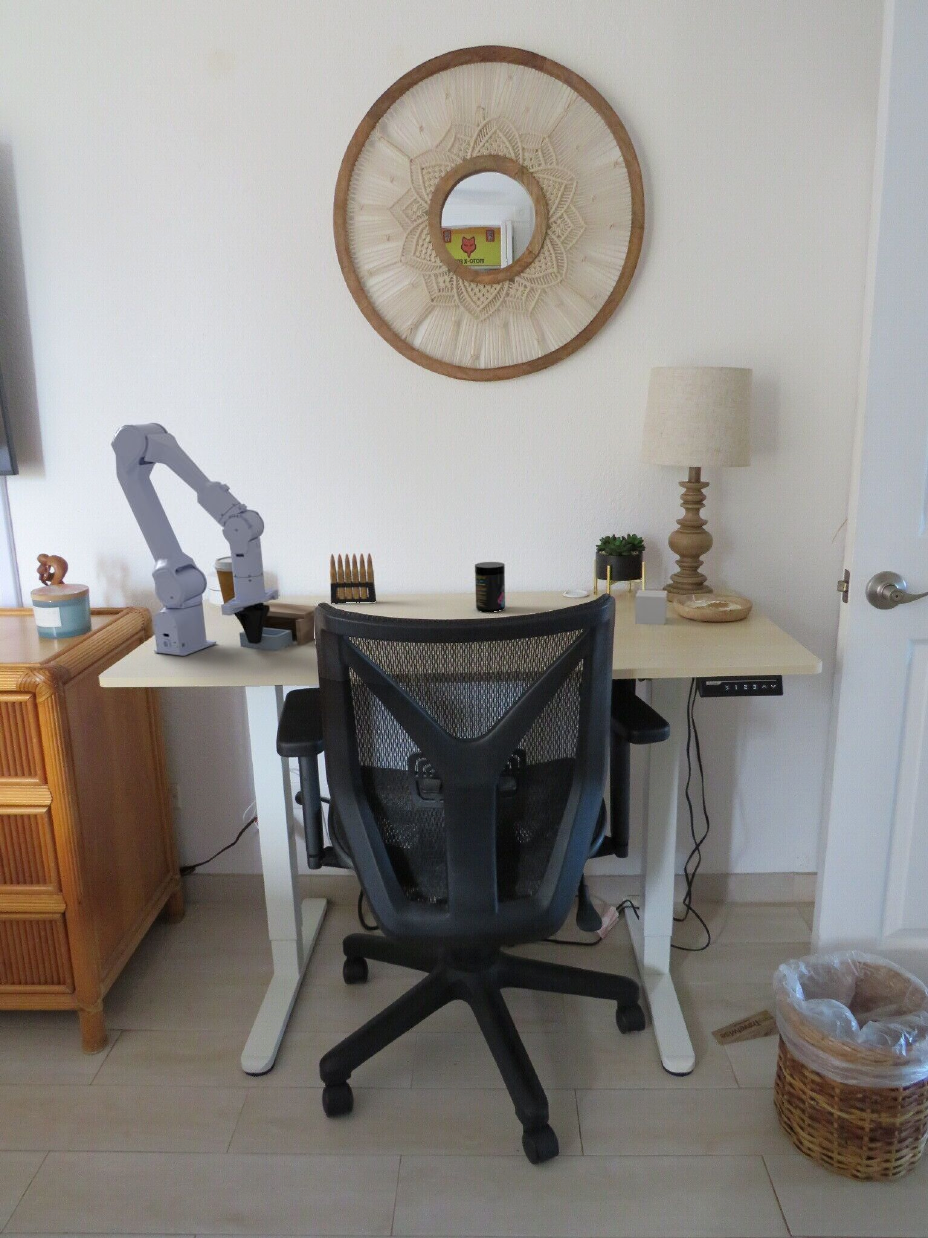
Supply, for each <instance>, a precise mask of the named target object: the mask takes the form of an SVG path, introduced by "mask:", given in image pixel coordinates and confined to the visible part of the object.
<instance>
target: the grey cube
mask: <svg viewBox="0 0 928 1238" xmlns="http://www.w3.org/2000/svg"><path fill="white" fill-rule="evenodd" d="M667 606H668V590H657V589H656V590H650V589H649V590H648V589H638V590H637V593H636V594H635V606H634V609H635V612H634V614H635V615H634V624H639V625H659V626H664V625H665V624H666V621H667V611H668V609H667Z"/></svg>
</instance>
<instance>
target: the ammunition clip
mask: <svg viewBox="0 0 928 1238" xmlns="http://www.w3.org/2000/svg"><path fill="white" fill-rule="evenodd" d="M352 554H353V555H352V559H351V561H350V557H349V554H348V553H346V554H345V558H344V565H343V558H342V555H341V554H340V553H338V556H337V566H336V560H335V556H334V554H333V553H331V555H330V559H329V562H330V566H329V567H330V568H329V575H330V576H329V579H330V604H331V605H333V604H332V603H335V604H334V605H339V604H338V603H346V602H356V603H357V602H359V603H360V602H375V601H376V602H377V595H376V587H375V586H376V585H375V575H374V573H375V570H374V567H373V566H374V565H373V559H372V555H371V553H370V552H369V553H367V558H366V560H367V561H366V562H365V557H364V554H363V553H360V556H359V567H358V560H357V556H356V553H352ZM365 563H366V564H367V565H366V564H365ZM351 564H352V565H351ZM351 566H352V567H351Z"/></svg>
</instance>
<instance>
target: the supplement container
mask: <svg viewBox="0 0 928 1238" xmlns="http://www.w3.org/2000/svg"><path fill="white" fill-rule="evenodd" d="M505 566H506V565H505V563H503V562H501V561H500V562H499V561H483V562H477V563H476V564H474V579H475V580H474V581H475V583H474V584H475V585H474V587H475V608H476V610H477V611H478V612H480V611H481V612H480V613H484V612H494V611H499V610H503V609H504V610H506V609H505V608H506V580H505V579H506V576H505V574H506V573H505V572H506V570H505V568H506V567H505ZM504 610H503V611H504Z"/></svg>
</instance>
